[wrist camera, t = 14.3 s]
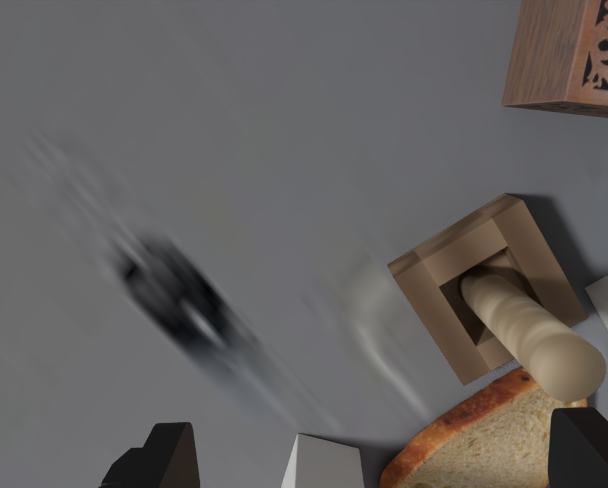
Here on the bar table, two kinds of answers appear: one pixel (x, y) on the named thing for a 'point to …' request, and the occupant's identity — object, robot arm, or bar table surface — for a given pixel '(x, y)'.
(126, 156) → the bar table surface
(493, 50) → the bar table surface
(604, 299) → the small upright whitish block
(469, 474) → the bread slice
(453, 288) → the socket block
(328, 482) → the milk
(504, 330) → the dowel
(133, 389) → the bar table surface
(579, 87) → the tissue box cover
